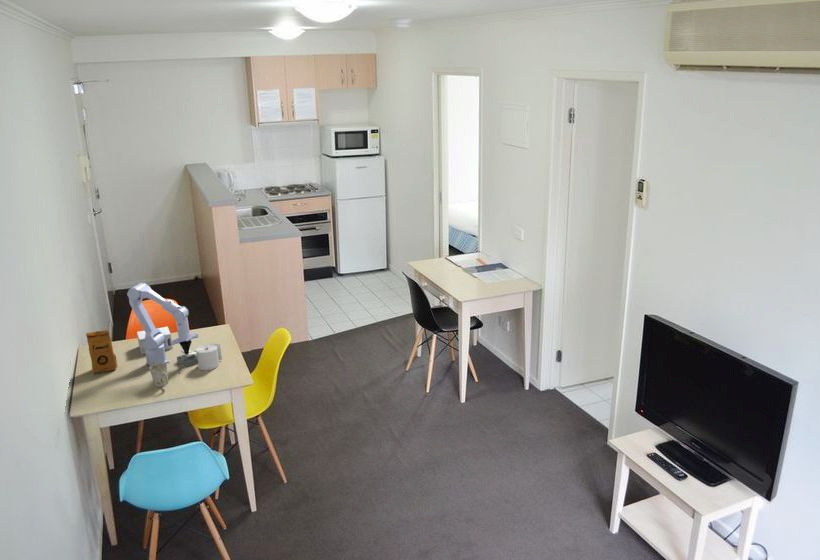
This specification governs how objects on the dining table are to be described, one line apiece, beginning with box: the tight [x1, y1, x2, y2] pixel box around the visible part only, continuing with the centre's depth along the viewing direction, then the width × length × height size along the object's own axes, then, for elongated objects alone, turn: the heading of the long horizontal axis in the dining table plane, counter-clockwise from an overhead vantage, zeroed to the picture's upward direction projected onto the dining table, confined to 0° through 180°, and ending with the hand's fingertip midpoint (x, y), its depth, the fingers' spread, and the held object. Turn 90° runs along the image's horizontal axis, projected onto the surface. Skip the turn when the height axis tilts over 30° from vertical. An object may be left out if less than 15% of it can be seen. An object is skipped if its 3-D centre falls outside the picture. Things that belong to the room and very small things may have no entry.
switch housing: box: [176, 350, 198, 368], centre depth 353 cm, size 11×9×5 cm
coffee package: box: [85, 329, 118, 374], centre depth 343 cm, size 10×12×22 cm
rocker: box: [185, 352, 197, 357], centre depth 351 cm, size 6×3×1 cm, turn 134°
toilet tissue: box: [195, 343, 223, 371], centre depth 347 cm, size 11×12×10 cm
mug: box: [149, 363, 170, 388], centre depth 326 cm, size 8×13×10 cm, turn 51°
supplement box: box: [136, 326, 174, 355], centre depth 371 cm, size 17×13×9 cm
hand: (186, 353), depth 349 cm, fingers closed
